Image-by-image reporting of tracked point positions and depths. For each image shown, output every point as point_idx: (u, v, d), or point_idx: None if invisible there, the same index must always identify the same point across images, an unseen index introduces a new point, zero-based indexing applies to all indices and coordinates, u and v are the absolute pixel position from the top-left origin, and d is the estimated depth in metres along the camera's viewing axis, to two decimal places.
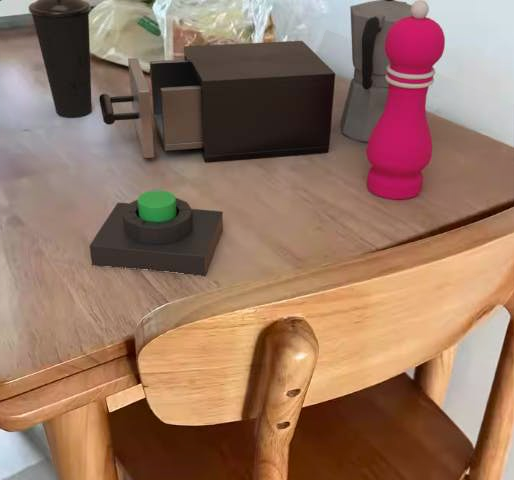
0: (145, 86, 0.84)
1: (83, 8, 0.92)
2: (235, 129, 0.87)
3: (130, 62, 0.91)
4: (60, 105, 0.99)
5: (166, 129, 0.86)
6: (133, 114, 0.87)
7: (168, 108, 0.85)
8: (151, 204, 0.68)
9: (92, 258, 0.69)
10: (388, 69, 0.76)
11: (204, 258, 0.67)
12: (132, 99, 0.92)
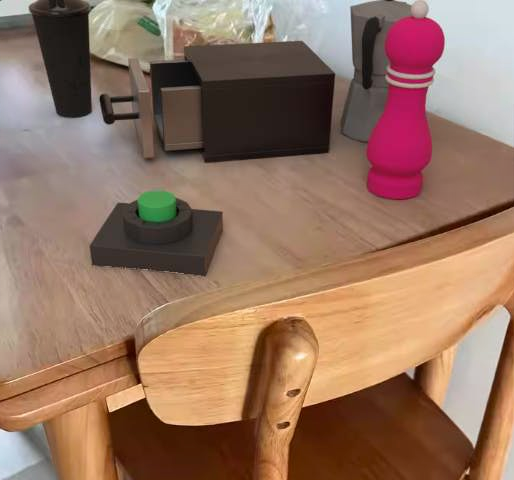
0: (145, 86, 0.84)
1: (83, 8, 0.92)
2: (235, 129, 0.87)
3: (130, 62, 0.91)
4: (60, 105, 0.99)
5: (166, 129, 0.86)
6: (133, 114, 0.87)
7: (168, 108, 0.85)
8: (151, 204, 0.68)
9: (92, 258, 0.69)
10: (388, 69, 0.76)
11: (204, 258, 0.67)
12: (132, 99, 0.92)
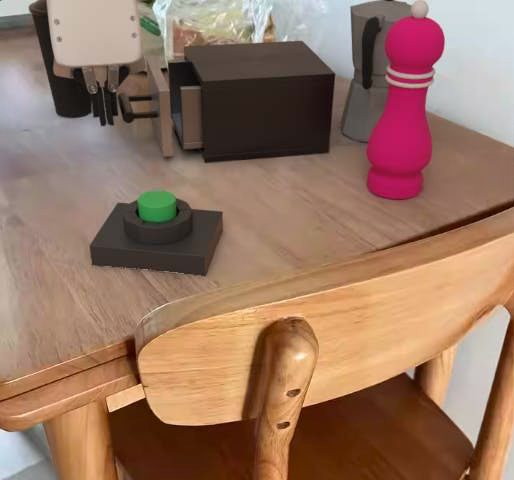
0: (165, 85, 0.84)
1: None
2: (235, 129, 0.87)
3: (148, 61, 0.91)
4: (60, 105, 0.99)
5: (185, 128, 0.87)
6: (152, 113, 0.87)
7: (187, 107, 0.85)
8: (151, 204, 0.68)
9: (92, 258, 0.69)
10: (388, 69, 0.76)
11: (204, 258, 0.67)
12: (150, 98, 0.92)
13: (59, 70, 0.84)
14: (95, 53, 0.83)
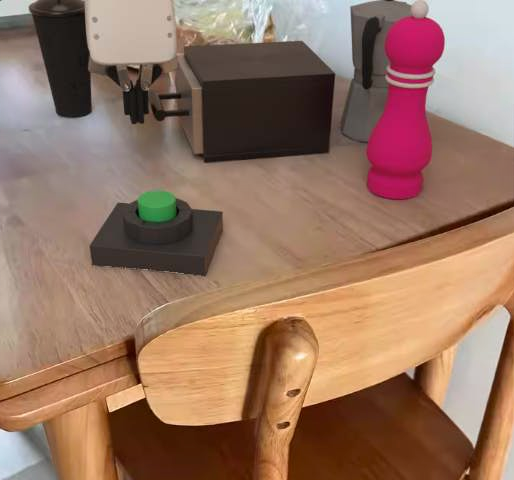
0: (197, 83, 0.85)
1: (83, 8, 0.92)
2: (235, 129, 0.87)
3: (178, 59, 0.92)
4: (60, 105, 0.99)
5: None
6: (183, 111, 0.88)
7: None
8: (151, 204, 0.68)
9: (92, 258, 0.69)
10: (388, 69, 0.76)
11: (204, 258, 0.67)
12: (180, 96, 0.93)
13: (94, 67, 0.85)
14: (130, 51, 0.83)
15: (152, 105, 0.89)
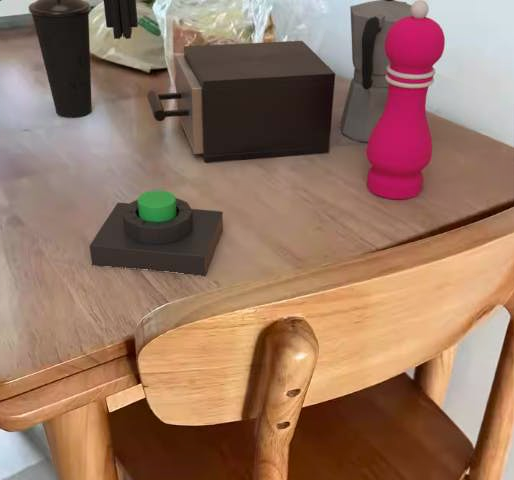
0: (197, 83, 0.85)
1: (83, 8, 0.92)
2: (235, 129, 0.87)
3: (178, 59, 0.92)
4: (60, 105, 0.99)
5: None
6: (183, 111, 0.88)
7: None
8: (151, 204, 0.68)
9: (92, 258, 0.69)
10: (388, 69, 0.76)
11: (204, 258, 0.67)
12: (180, 96, 0.93)
13: None
14: None
15: (152, 105, 0.89)
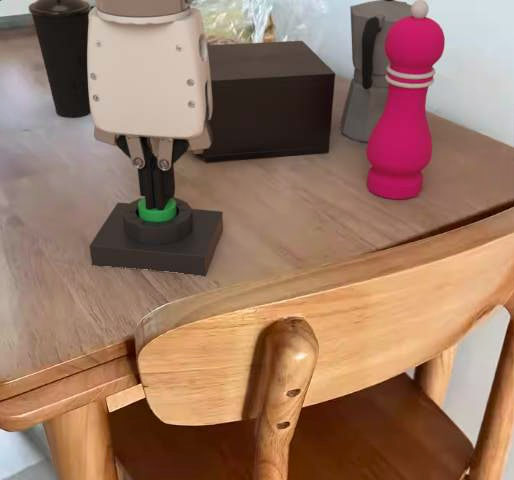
0: None
1: (83, 8, 0.92)
2: (235, 129, 0.87)
3: None
4: (60, 105, 0.99)
5: None
6: None
7: None
8: None
9: (92, 258, 0.69)
10: (388, 69, 0.76)
11: (204, 258, 0.67)
12: None
13: (101, 134, 0.65)
14: (140, 121, 0.62)
15: None
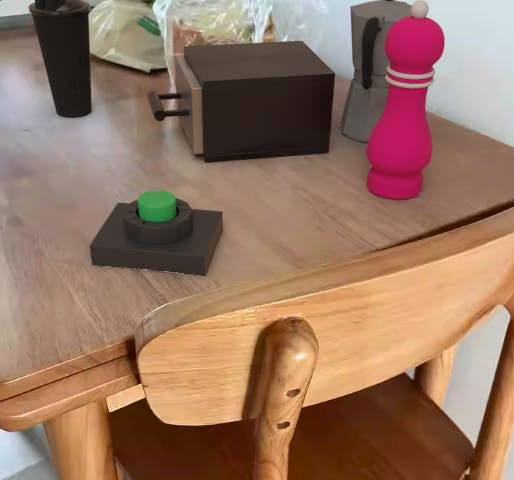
0: (197, 83, 0.85)
1: (83, 8, 0.92)
2: (235, 129, 0.87)
3: (178, 59, 0.92)
4: (60, 105, 0.99)
5: None
6: (183, 111, 0.88)
7: None
8: (151, 204, 0.68)
9: (92, 258, 0.69)
10: (388, 69, 0.76)
11: (204, 258, 0.67)
12: (180, 96, 0.93)
13: None
14: None
15: (152, 105, 0.89)
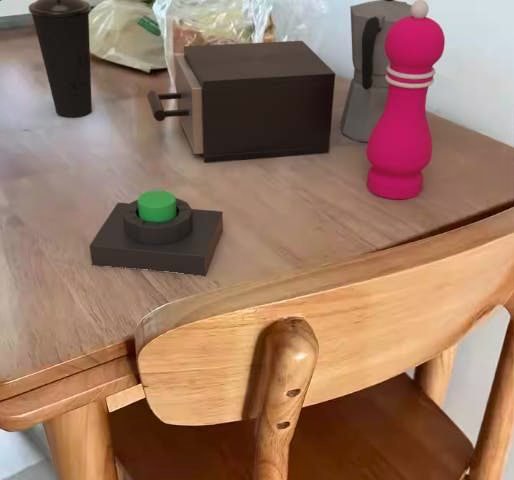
0: (197, 83, 0.85)
1: (83, 8, 0.92)
2: (235, 129, 0.87)
3: (178, 59, 0.92)
4: (60, 105, 0.99)
5: None
6: (183, 111, 0.88)
7: None
8: (151, 204, 0.68)
9: (92, 258, 0.69)
10: (388, 69, 0.76)
11: (204, 258, 0.67)
12: (180, 96, 0.93)
13: None
14: None
15: (152, 105, 0.89)
